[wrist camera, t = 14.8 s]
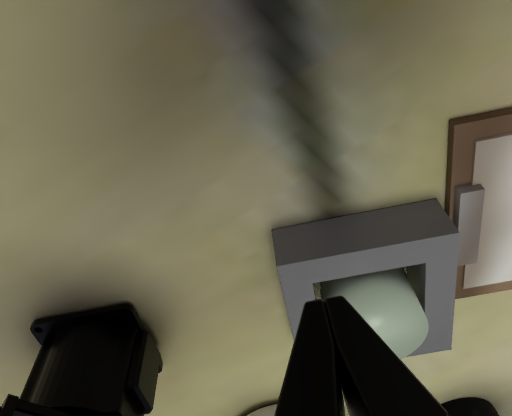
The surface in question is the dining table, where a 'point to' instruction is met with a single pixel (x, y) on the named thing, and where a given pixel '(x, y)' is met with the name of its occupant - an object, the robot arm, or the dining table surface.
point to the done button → (384, 306)
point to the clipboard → (481, 200)
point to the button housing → (376, 259)
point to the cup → (469, 407)
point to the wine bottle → (264, 411)
